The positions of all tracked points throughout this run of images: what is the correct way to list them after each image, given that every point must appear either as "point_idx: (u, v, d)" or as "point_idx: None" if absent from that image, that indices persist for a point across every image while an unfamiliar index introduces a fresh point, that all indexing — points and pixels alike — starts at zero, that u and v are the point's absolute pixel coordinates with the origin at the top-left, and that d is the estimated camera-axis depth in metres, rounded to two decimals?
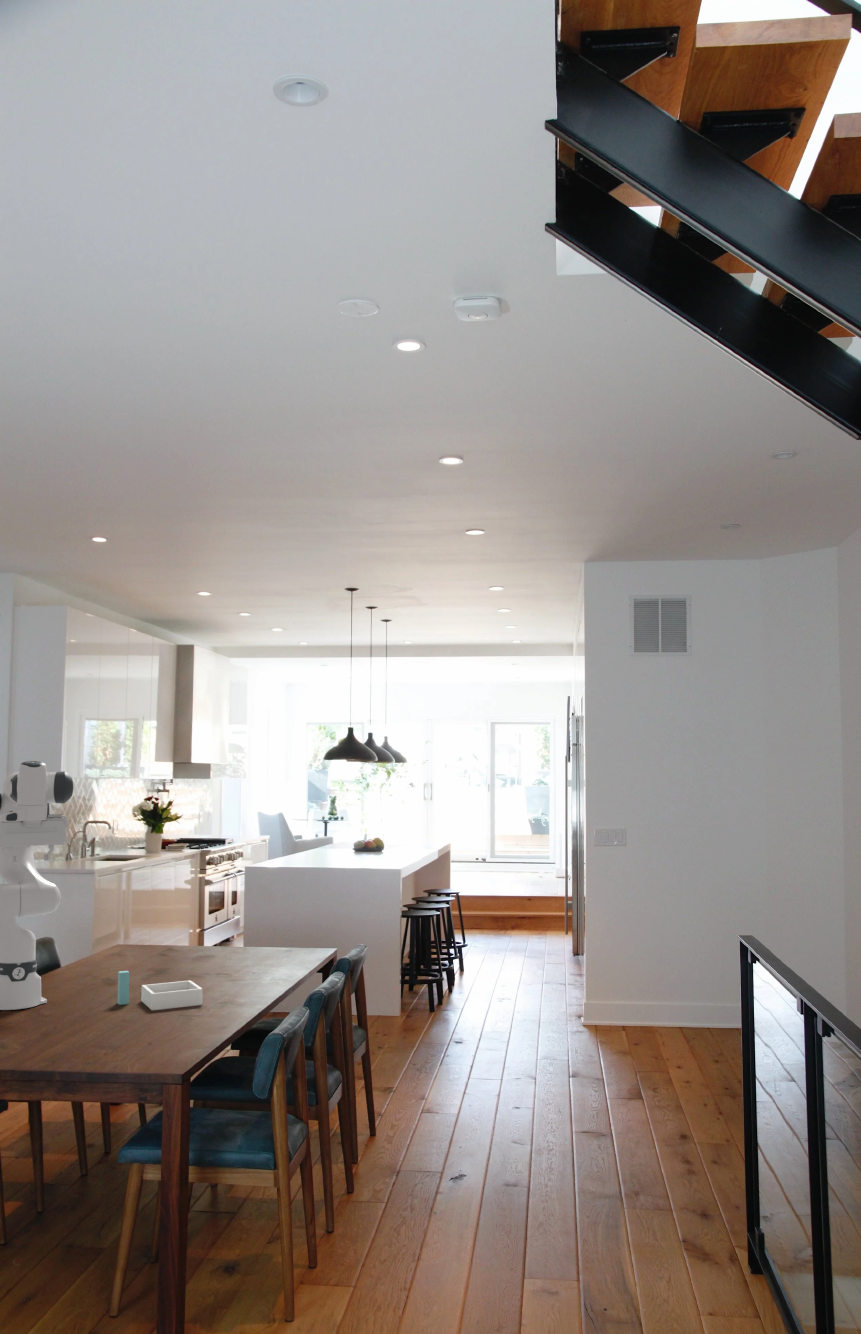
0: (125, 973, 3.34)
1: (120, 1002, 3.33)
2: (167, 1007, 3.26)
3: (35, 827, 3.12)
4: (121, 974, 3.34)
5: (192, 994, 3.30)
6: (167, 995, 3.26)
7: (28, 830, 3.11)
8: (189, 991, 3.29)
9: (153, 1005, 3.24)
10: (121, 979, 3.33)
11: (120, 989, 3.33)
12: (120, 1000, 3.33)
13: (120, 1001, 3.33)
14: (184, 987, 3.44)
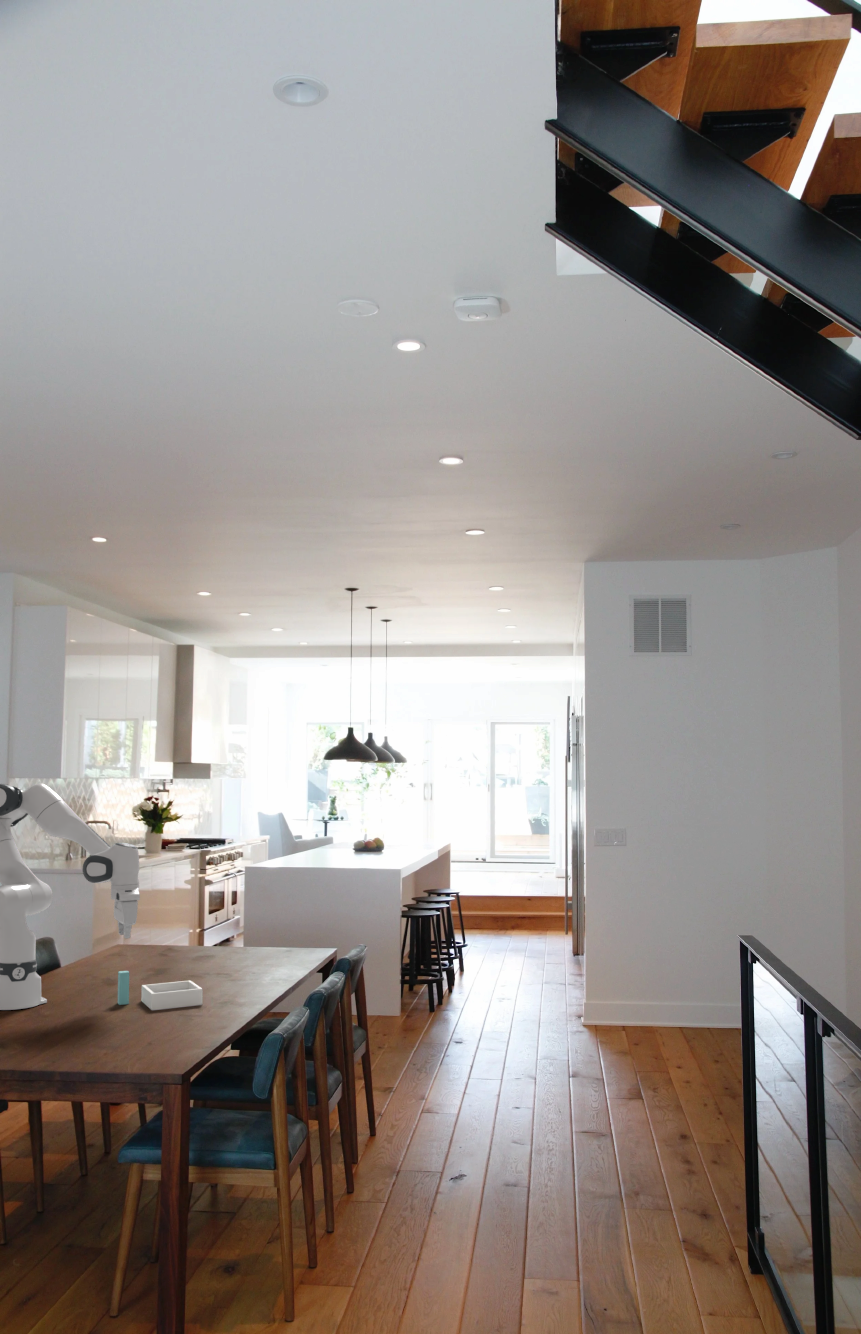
0: (125, 973, 3.34)
1: (120, 1002, 3.33)
2: (167, 1007, 3.26)
3: None
4: (121, 974, 3.34)
5: (192, 994, 3.30)
6: (167, 995, 3.26)
7: None
8: (189, 991, 3.29)
9: (153, 1005, 3.24)
10: (121, 979, 3.33)
11: (120, 989, 3.33)
12: (120, 1000, 3.33)
13: (120, 1001, 3.33)
14: (184, 987, 3.44)
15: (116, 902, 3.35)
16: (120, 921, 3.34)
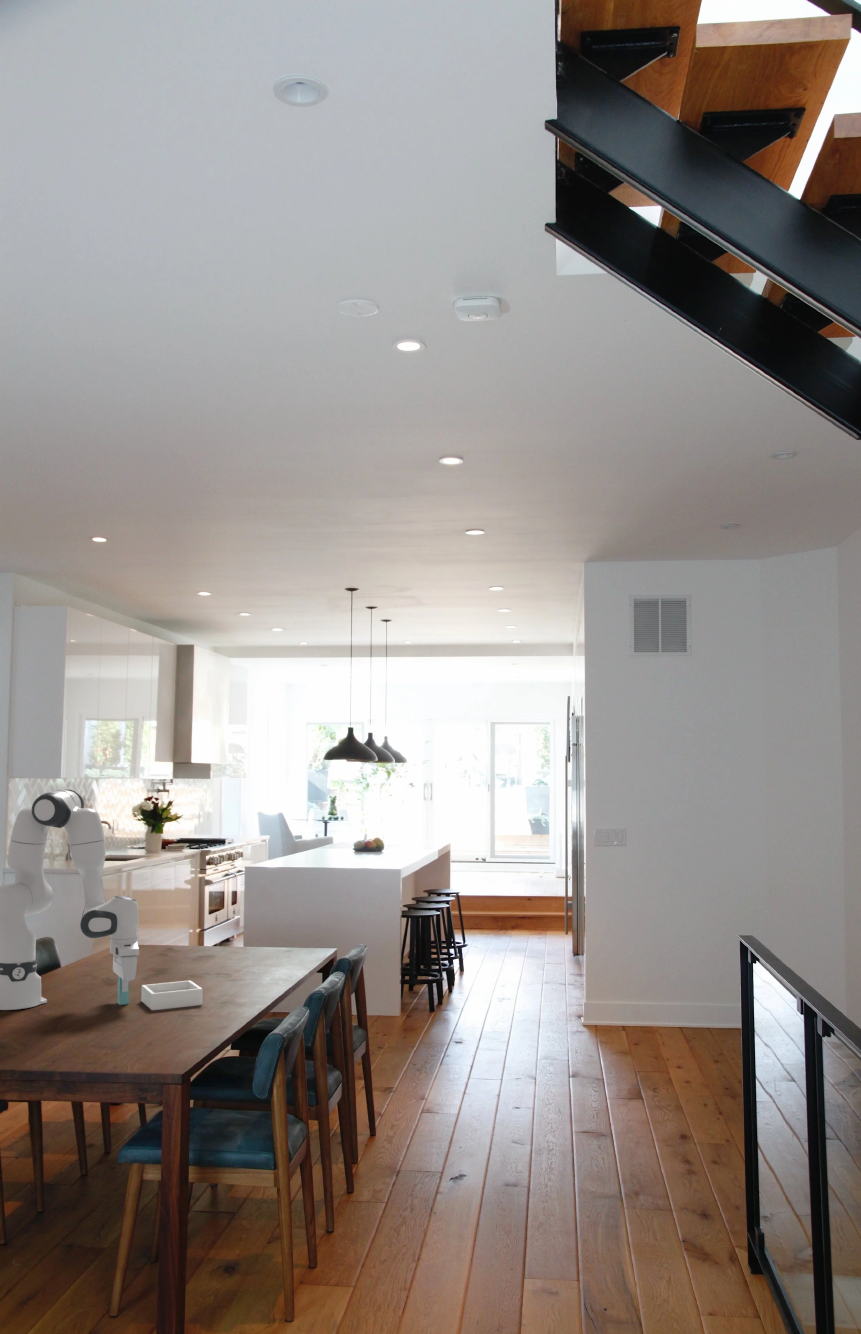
0: None
1: (120, 1002, 3.33)
2: (167, 1007, 3.26)
3: None
4: None
5: (192, 994, 3.30)
6: (167, 995, 3.26)
7: None
8: (189, 991, 3.29)
9: (153, 1005, 3.24)
10: (121, 979, 3.33)
11: (120, 989, 3.33)
12: (120, 1000, 3.33)
13: (120, 1001, 3.33)
14: (184, 987, 3.44)
15: (115, 956, 3.34)
16: (119, 975, 3.32)
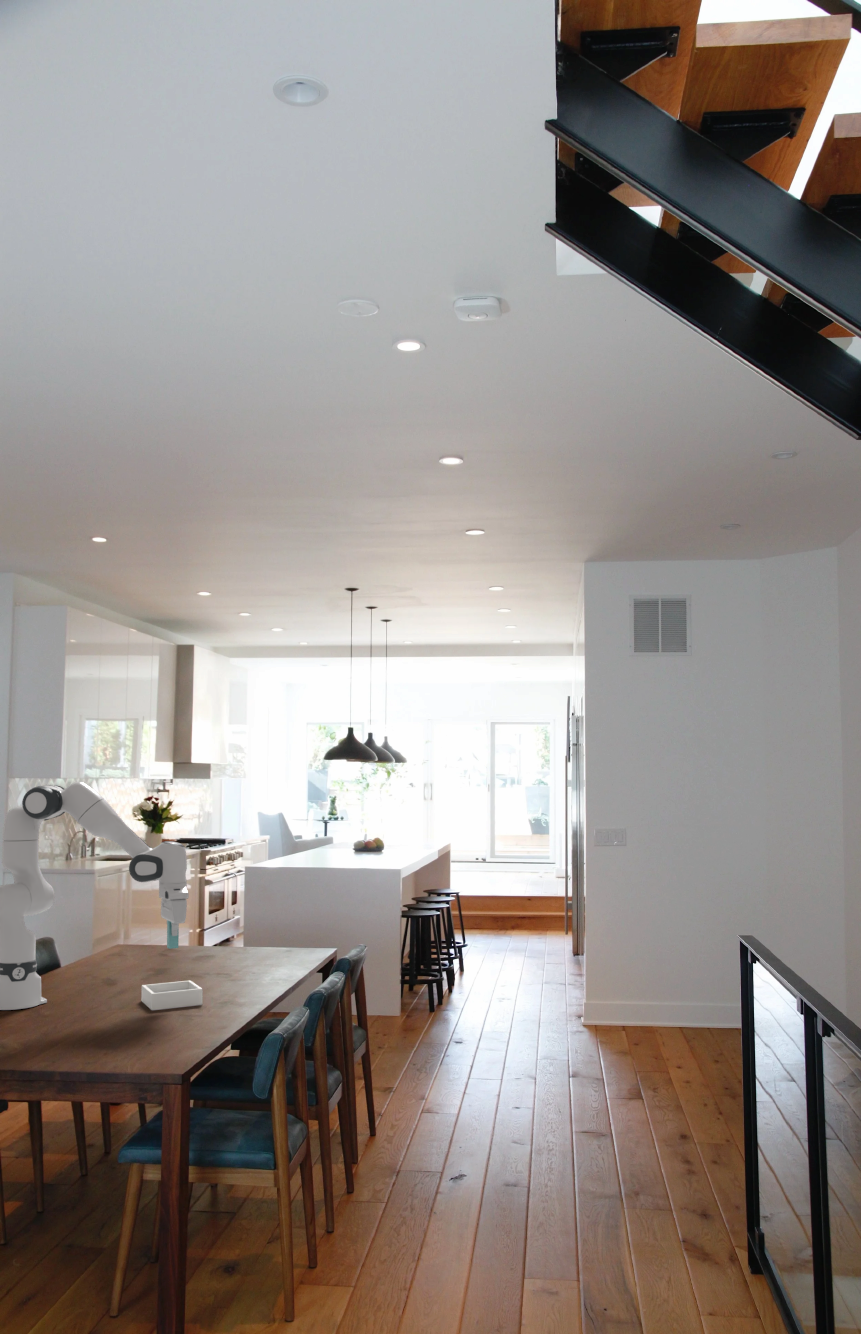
0: None
1: (170, 946, 3.34)
2: (167, 1007, 3.26)
3: None
4: None
5: (192, 994, 3.30)
6: (167, 995, 3.26)
7: None
8: (189, 991, 3.29)
9: (153, 1005, 3.24)
10: None
11: (170, 933, 3.35)
12: (170, 944, 3.35)
13: (170, 945, 3.34)
14: (184, 987, 3.44)
15: (164, 901, 3.36)
16: (169, 920, 3.34)
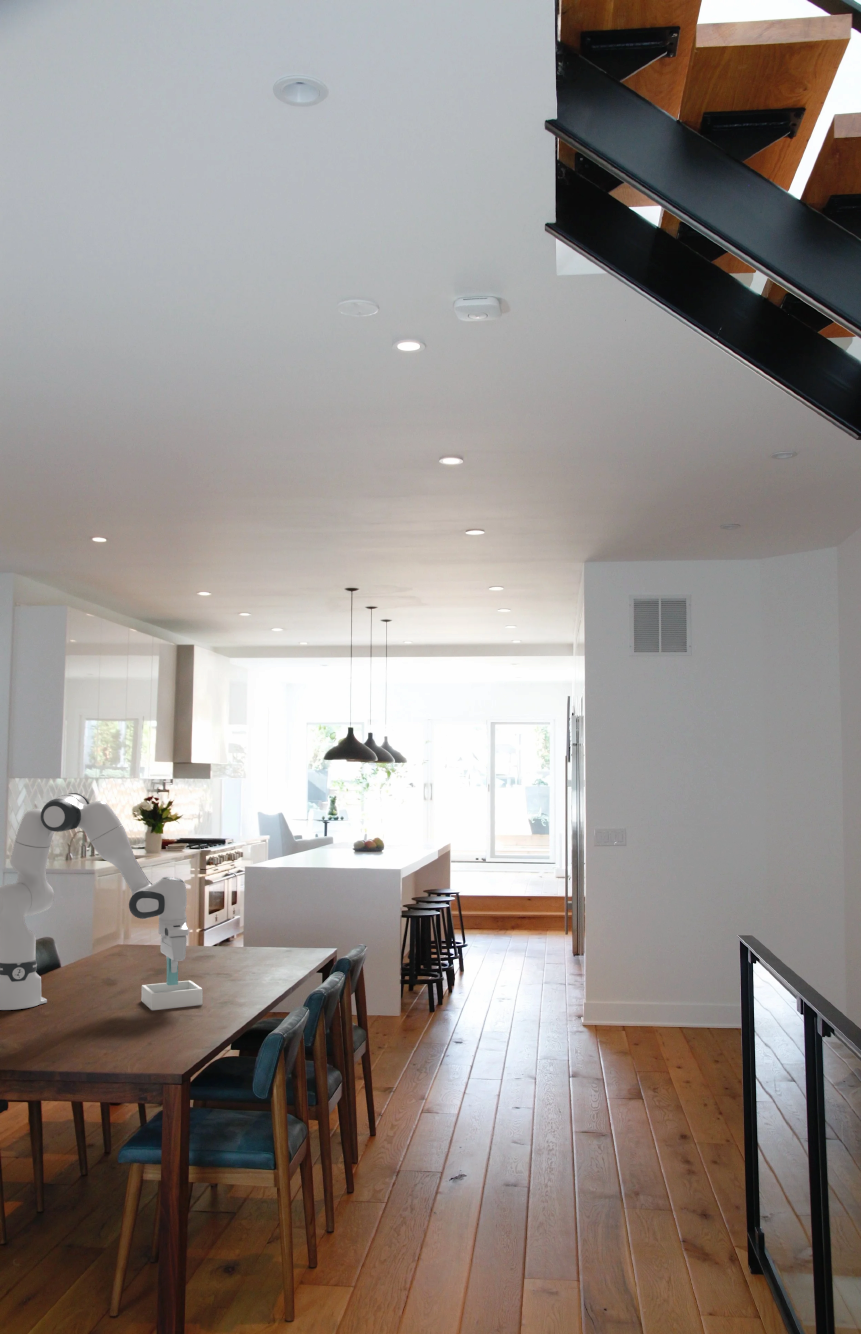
0: None
1: (169, 983, 3.33)
2: (167, 1007, 3.26)
3: None
4: None
5: (192, 994, 3.30)
6: (167, 995, 3.26)
7: None
8: (189, 991, 3.29)
9: (153, 1005, 3.24)
10: (170, 960, 3.34)
11: (169, 970, 3.34)
12: (169, 981, 3.33)
13: (169, 982, 3.33)
14: (184, 987, 3.44)
15: (164, 937, 3.34)
16: (168, 956, 3.33)
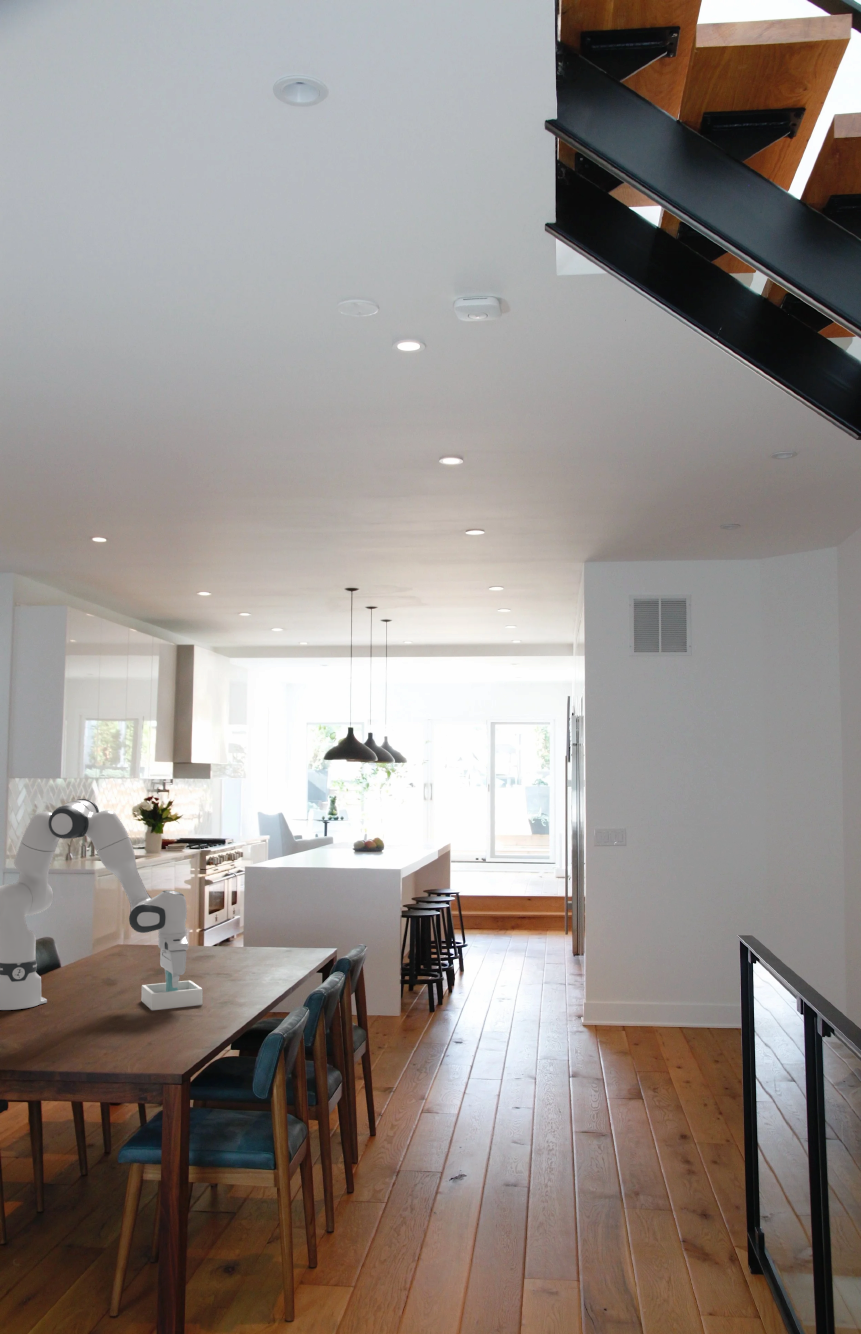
0: None
1: None
2: (167, 1007, 3.26)
3: None
4: (170, 973, 3.34)
5: (192, 994, 3.30)
6: (167, 995, 3.26)
7: None
8: (189, 991, 3.29)
9: (153, 1005, 3.24)
10: (170, 978, 3.33)
11: (169, 988, 3.33)
12: None
13: None
14: (184, 987, 3.44)
15: (164, 951, 3.34)
16: (168, 970, 3.32)
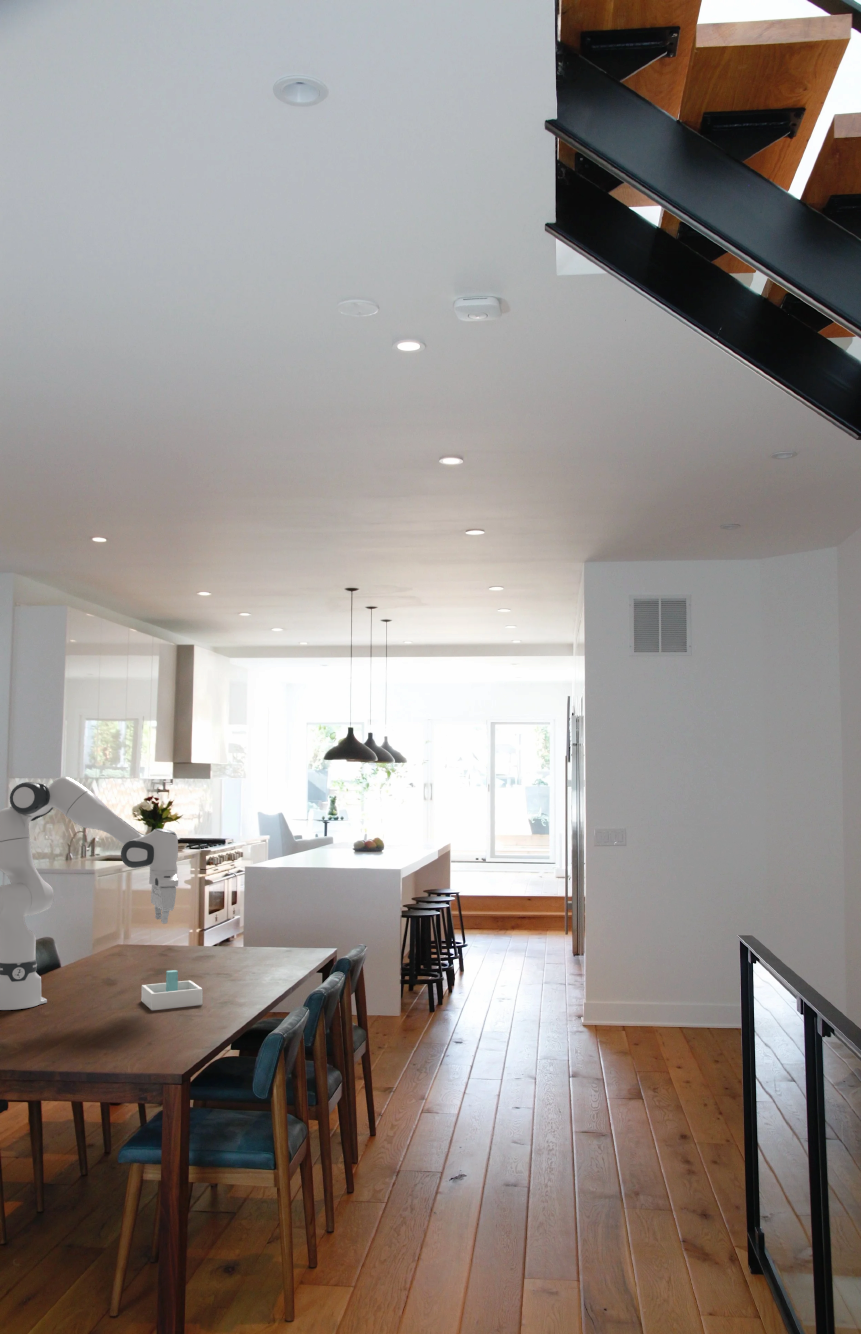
0: (174, 972, 3.34)
1: None
2: (167, 1007, 3.26)
3: None
4: (170, 973, 3.34)
5: (192, 994, 3.30)
6: (167, 995, 3.26)
7: None
8: (189, 991, 3.29)
9: (153, 1005, 3.24)
10: (170, 978, 3.33)
11: (169, 988, 3.33)
12: None
13: None
14: (184, 987, 3.44)
15: (154, 887, 3.39)
16: (158, 906, 3.38)
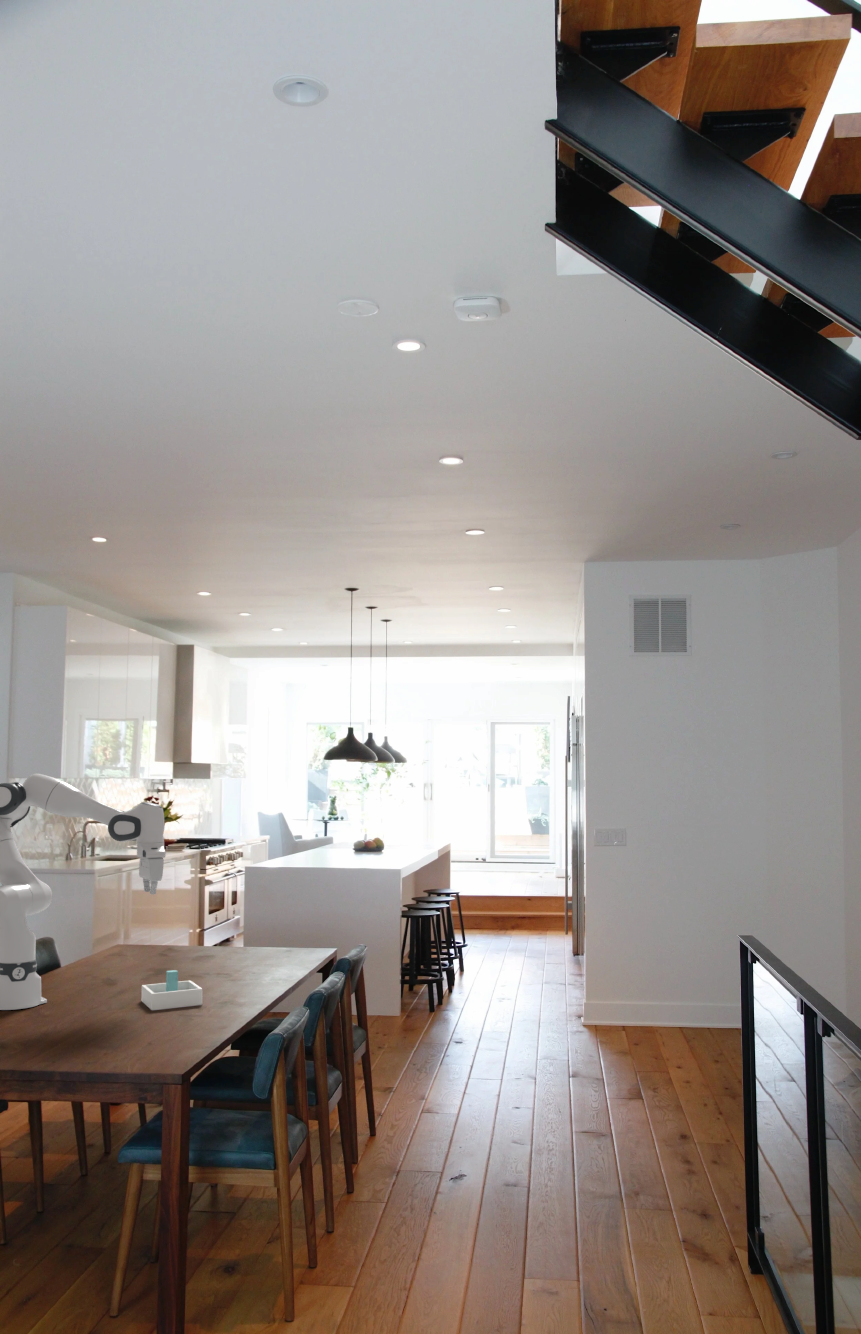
0: (174, 972, 3.34)
1: None
2: (167, 1007, 3.26)
3: None
4: (170, 973, 3.34)
5: (192, 994, 3.30)
6: (167, 995, 3.26)
7: None
8: (189, 991, 3.29)
9: (153, 1005, 3.24)
10: (170, 978, 3.33)
11: (169, 988, 3.33)
12: None
13: None
14: (184, 987, 3.44)
15: (142, 859, 3.45)
16: (146, 878, 3.44)
